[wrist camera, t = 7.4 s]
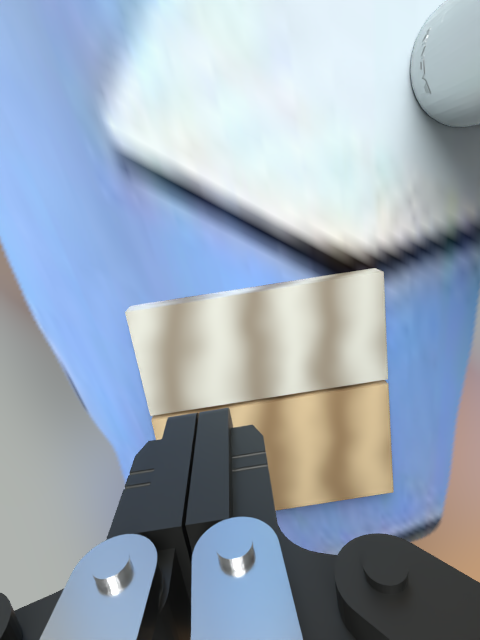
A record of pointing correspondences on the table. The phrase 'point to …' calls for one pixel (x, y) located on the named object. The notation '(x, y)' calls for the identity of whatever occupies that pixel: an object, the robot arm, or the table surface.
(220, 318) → the grey-washed plank
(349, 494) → the honey oak plank
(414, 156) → the table surface
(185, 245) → the table surface
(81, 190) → the table surface
